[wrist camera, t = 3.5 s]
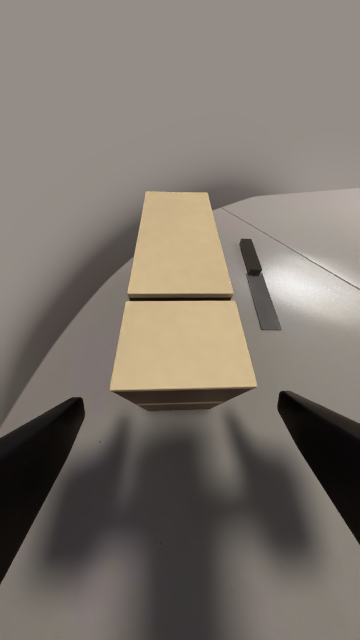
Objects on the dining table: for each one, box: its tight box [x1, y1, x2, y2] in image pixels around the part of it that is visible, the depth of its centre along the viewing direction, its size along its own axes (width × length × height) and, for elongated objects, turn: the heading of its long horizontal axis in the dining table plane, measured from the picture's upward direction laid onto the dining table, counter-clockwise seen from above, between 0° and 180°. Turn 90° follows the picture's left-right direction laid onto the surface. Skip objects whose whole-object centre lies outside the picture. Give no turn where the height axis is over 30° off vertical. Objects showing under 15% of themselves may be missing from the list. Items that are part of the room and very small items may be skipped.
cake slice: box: [109, 301, 257, 411], centre depth 13 cm, size 4×6×11 cm
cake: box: [127, 192, 233, 301], centre depth 17 cm, size 13×6×11 cm, turn 2°
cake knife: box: [240, 239, 281, 330], centre depth 25 cm, size 18×2×1 cm, turn 179°
